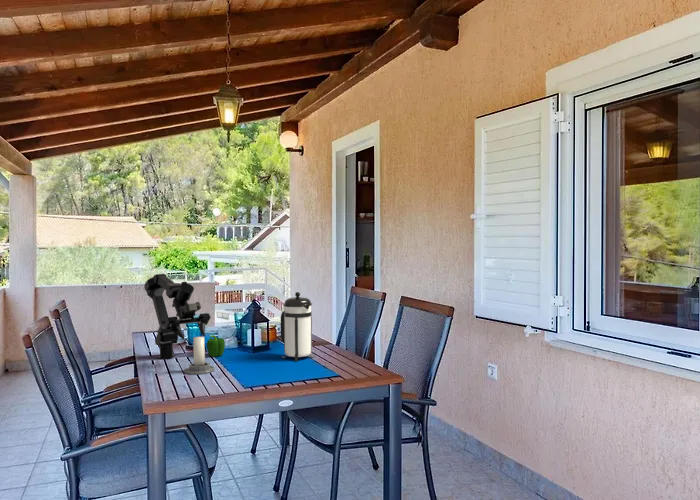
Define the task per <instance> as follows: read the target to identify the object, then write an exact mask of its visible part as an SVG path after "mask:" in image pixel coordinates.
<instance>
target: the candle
mask: <svg viewBox="0 0 700 500" xmlns="http://www.w3.org/2000/svg"><path fill="white" fill-rule="evenodd" d="M192 339H193V340H192V341H193V343H192V346H193V363H194V366H195V367H199V366H205V362H206V355H205V354H206V352H205V351H206V350H205V336H195V337H193V338H192Z"/></svg>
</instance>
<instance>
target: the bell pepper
mask: <svg viewBox="0 0 700 500" xmlns="http://www.w3.org/2000/svg"><path fill="white" fill-rule="evenodd" d="M206 349H207V353H208V356H209V357H214V358H215V357H222V356H223V355H224V351H225V349H226V341H225V339H224V338H222V337H221V338H218V337H217V335H215V334H211V335H210V338H209V339H208V340H207V342H206Z"/></svg>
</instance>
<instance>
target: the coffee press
mask: <svg viewBox="0 0 700 500" xmlns="http://www.w3.org/2000/svg"><path fill="white" fill-rule="evenodd" d="M294 296H295V297H290V298H287V299H286V300H285V301H284V303H283V307H284V310H283V311H282V312H281V315H280V338H281V339H280V340H281V342H282V343H283V345H284V346H283V347H284V351H283V353H284V354H285V356H284V354H282V355H281V358H282V359H285V358H286V357H291V358H294V362H299V358H302V357H308V356H309V357H310V358H312V359H314V358H315V356H316V355H315V353H314V352H313V333H312V331H313V329H312V327H313V324H312V323H313V321H312V305H313V303H312V302H311V299H309V298H307V297H303V296H302V297H301V293H300V292H298V291H297V292H295V293H294ZM311 354H312V355H313V356H312V355H311Z"/></svg>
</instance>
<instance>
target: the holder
mask: <svg viewBox="0 0 700 500" xmlns="http://www.w3.org/2000/svg"><path fill="white" fill-rule="evenodd" d="M215 370H216V369H215V366H213V365H211V364H210V363H209V362H206V361H205V366H199V367H195V366H194V362H193V363H190V364H189V365H188V367H186V368H185V369H184V373H185V374H187V375H192V376H193V375H194V376H195V375H197V376H198V375H206V374H211V373H212V372H214V371H215Z"/></svg>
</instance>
